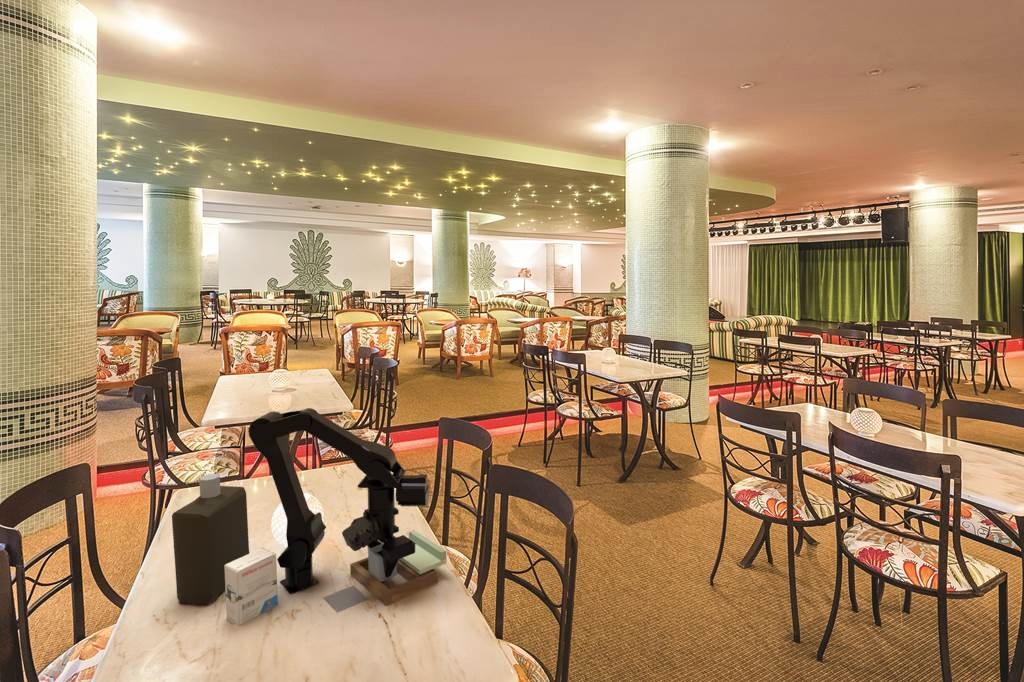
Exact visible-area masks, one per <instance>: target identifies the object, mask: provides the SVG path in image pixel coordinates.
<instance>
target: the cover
mask: <svg viewBox="0 0 1024 682" xmlns="http://www.w3.org/2000/svg"><path fill="white" fill-rule="evenodd" d="M408 538H409V539H410V540H412V541H413V542H414V543H415V553H414V554H411V555H409V556H406V557H403V558H401V559H399V560H401V561H402V562H404V563H405V564H406V565H408V566H409V567H410V568H412V569H413V570H414V571H416V572H417V573H419V574H422V573H424V572H427V571H429V570H431V569H434V570H435V569H436V568H438V567H440V566H443V565H446V564H447V550H446V549H445V548H443V547H442V546H440V545H438V544H437V543H435V542H434V541H432V540H431V539H429V538H427V537H425V535H422V534H421V533H419V532H418V531H417V530H415V529H413V530H410V531H408Z"/></svg>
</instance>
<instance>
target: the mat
mask: <svg viewBox="0 0 1024 682" xmlns="http://www.w3.org/2000/svg"><path fill="white" fill-rule="evenodd" d="M322 599H323V600H324V601H325V602H326V603H327V604H328V605H329V606H330V607H331V608H332V609H333V610H334V611H335V613H340V612H343V611H345V610H347V609H349V608H351V607H355V606H357V605H358V604H361V603H363V602H366V601H369V598H368V597H367V596H366V595H365V594H363V592H361V590H359V588H357V587H356V586H355V585H350V586H348V587H346V588H343V589H340V590H338V591H336V592H334V593H333V592H332V593H330V594H328V595H326V596H323V597H322Z"/></svg>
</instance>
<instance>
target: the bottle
mask: <svg viewBox="0 0 1024 682" xmlns="http://www.w3.org/2000/svg"><path fill="white" fill-rule="evenodd" d="M220 477H221V476H220V475H219V474H218V473H209V474H204V475H202V476H200V477H198V482H199V483H198V484H199V496H198V497H197V498H195V500H192V501H190V502H189V503H188V504H186V505H184V506H183V507H181V508H179V509H177V510H176V511H174V512H172V514H171V523H172V536H173V537H172V538H173V553H174V556H173V557H174V567H175V583H176V584H175V585H176V598H177V600H178V604H179V605H189V606H202V607H207V606H208V605H209V604H210V603H211V602H213V601H214V600H215V599H216V598H217V597H218V596H219V595H220V594H221V593H223V592H224V591H225V568H224V565H225V564H228V563H230V562H232V561H234V560H236V559H239V558H241V557H243V556H245V555H247V554H250V545H249V544H250V541H249V524H248V523H249V521H248V520H249V519H248V501H247V491H246V488H245V487H244V486H231V485H228V486H227V485H225V486H224V485H221V479H220Z"/></svg>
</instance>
